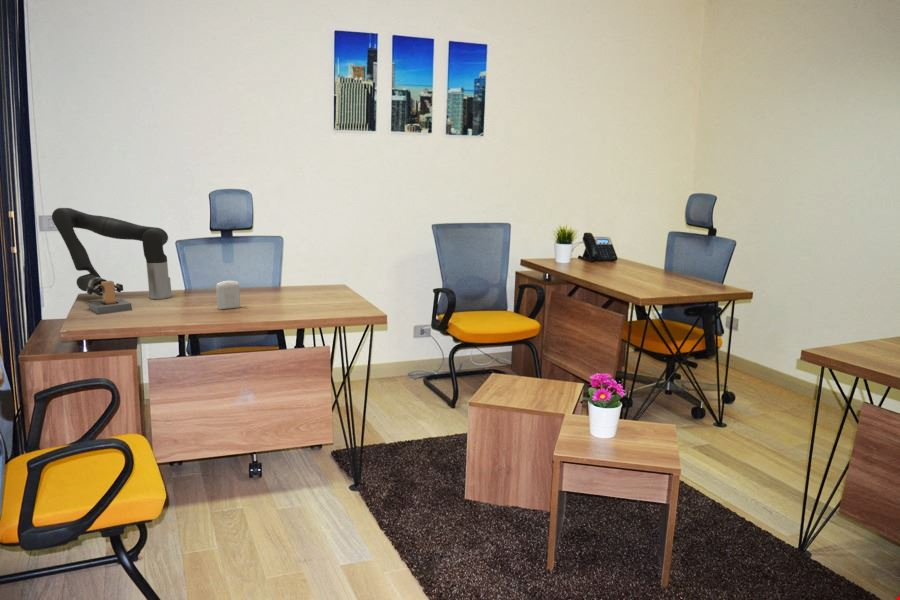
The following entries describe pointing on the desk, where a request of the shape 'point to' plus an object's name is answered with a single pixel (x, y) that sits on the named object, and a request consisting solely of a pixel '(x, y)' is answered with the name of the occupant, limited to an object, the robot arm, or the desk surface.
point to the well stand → (110, 307)
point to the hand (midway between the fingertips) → (109, 291)
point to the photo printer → (228, 294)
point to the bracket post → (108, 292)
